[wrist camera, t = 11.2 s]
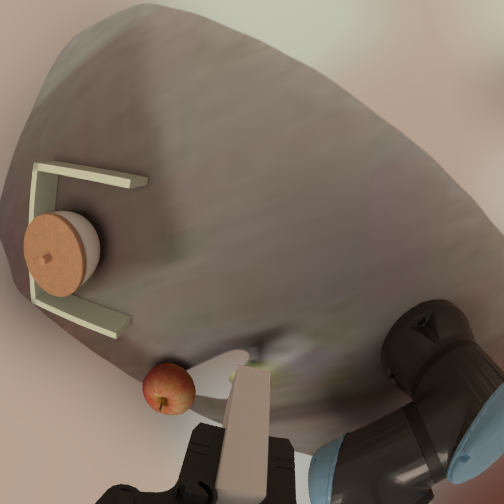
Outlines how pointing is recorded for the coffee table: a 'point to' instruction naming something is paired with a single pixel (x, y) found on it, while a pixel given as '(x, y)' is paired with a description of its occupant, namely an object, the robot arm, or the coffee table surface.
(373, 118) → the coffee table surface
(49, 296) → the bin
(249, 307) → the coffee table surface
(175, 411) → the apple
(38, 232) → the lidded jar
